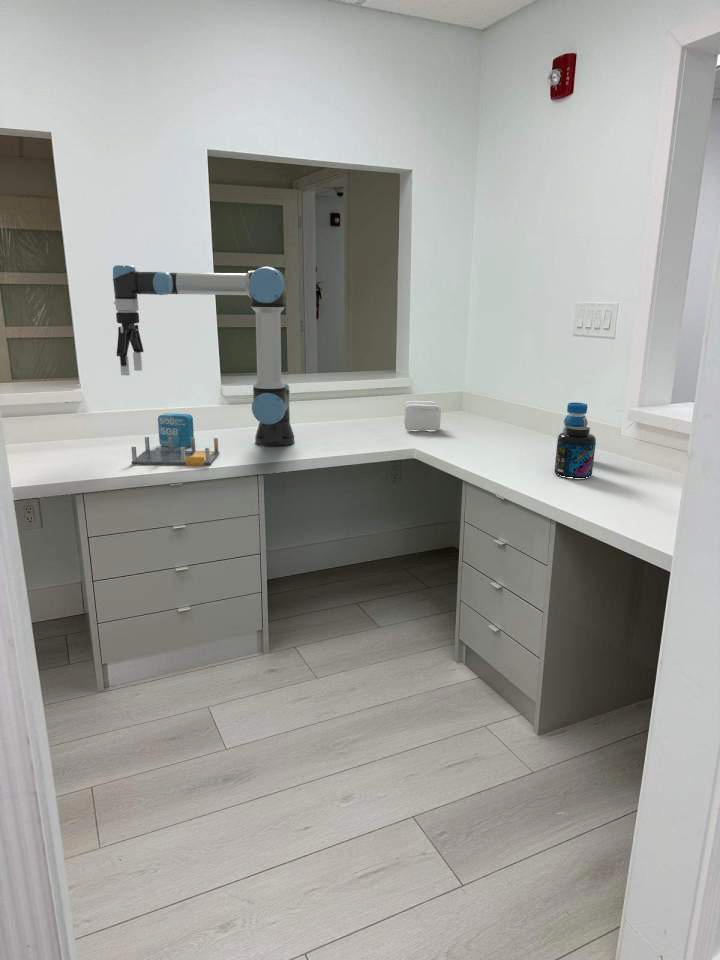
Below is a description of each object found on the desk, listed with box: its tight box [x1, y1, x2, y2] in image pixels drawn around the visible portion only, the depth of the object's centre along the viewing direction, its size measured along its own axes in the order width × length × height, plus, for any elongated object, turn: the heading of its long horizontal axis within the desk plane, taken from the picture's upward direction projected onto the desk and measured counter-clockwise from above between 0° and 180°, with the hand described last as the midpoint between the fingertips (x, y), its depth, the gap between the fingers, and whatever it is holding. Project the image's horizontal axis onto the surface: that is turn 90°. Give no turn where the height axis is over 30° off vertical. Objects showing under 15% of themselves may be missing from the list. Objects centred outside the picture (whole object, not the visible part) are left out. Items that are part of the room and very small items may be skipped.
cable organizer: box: [403, 400, 442, 431], centre depth 286 cm, size 15×11×12 cm
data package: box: [157, 412, 195, 448], centre depth 251 cm, size 12×4×12 cm, turn 81°
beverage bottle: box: [562, 401, 589, 432], centre depth 240 cm, size 8×8×20 cm
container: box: [554, 425, 597, 478], centre depth 219 cm, size 12×12×16 cm
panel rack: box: [131, 436, 220, 467], centre depth 232 cm, size 26×17×6 cm, turn 91°
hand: (132, 372), depth 239 cm, fingers open, 13 cm apart
